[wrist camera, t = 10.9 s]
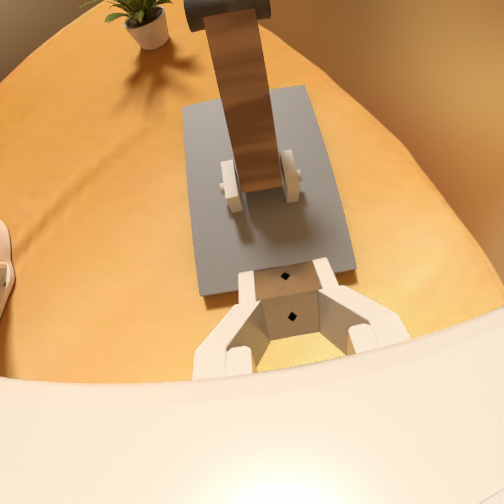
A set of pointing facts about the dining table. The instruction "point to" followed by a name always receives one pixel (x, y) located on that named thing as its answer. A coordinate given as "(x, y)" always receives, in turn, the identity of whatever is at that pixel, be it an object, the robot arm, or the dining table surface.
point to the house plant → (144, 21)
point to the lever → (241, 84)
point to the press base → (262, 197)
